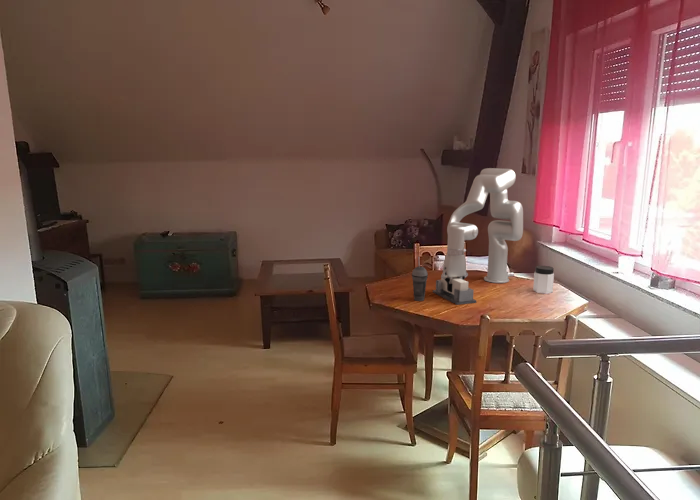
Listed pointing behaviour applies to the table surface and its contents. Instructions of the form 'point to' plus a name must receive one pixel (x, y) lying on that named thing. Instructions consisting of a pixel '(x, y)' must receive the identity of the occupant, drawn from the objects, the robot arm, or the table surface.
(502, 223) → the robot arm
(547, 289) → the jar
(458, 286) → the rail
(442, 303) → the table surface
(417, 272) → the beverage cup
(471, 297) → the bracket board
